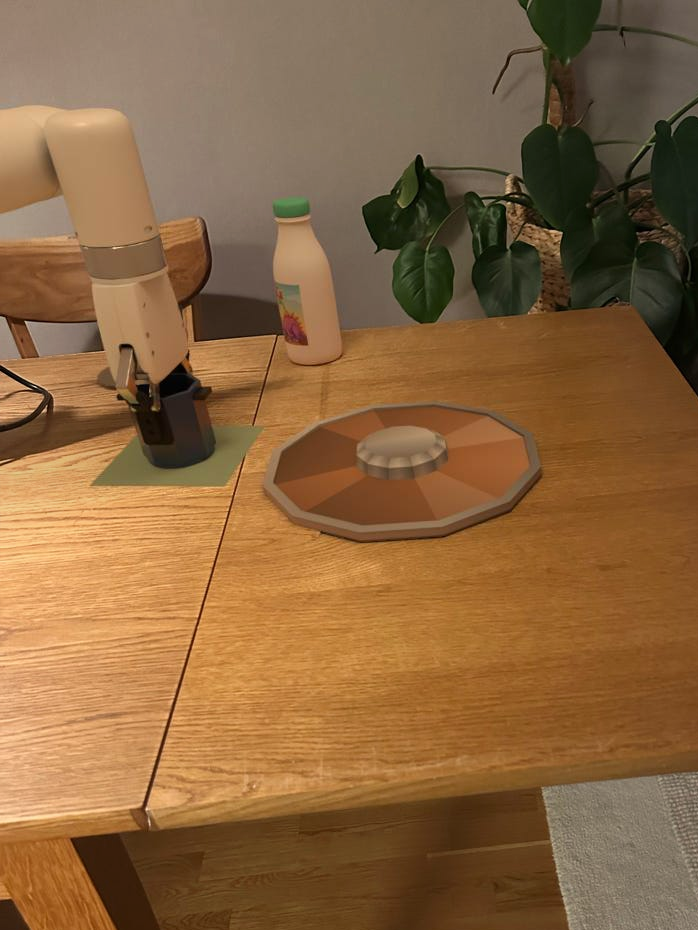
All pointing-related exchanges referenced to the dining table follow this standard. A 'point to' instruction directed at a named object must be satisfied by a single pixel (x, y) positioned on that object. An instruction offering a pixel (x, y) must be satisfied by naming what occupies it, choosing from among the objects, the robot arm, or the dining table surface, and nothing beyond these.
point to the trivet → (111, 379)
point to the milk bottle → (304, 287)
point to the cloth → (211, 472)
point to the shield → (402, 471)
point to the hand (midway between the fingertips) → (174, 426)
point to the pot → (181, 423)
